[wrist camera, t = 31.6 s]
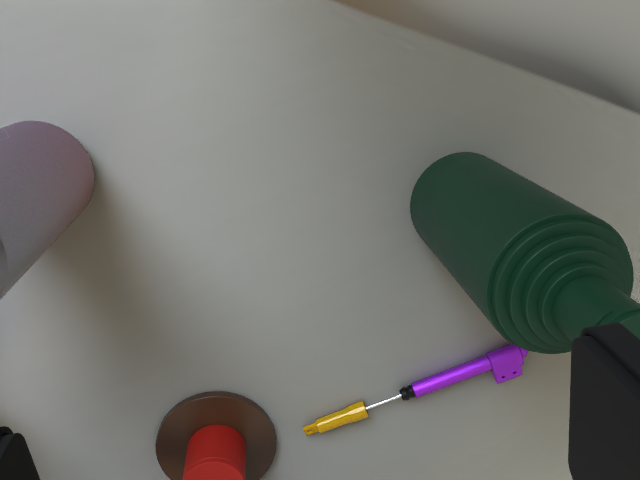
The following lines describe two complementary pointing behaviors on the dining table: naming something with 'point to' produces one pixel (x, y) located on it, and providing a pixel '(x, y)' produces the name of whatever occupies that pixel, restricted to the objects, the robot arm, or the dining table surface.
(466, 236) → the bottle
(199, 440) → the cap
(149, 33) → the dining table surface
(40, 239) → the beverage can
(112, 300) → the dining table surface
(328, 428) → the purple tool
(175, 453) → the coaster
